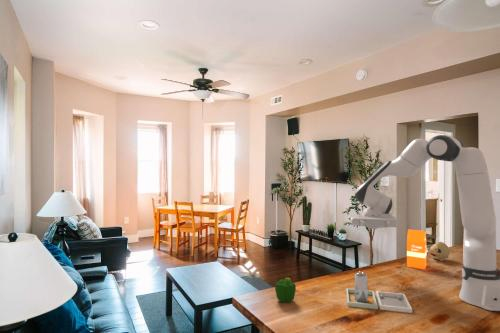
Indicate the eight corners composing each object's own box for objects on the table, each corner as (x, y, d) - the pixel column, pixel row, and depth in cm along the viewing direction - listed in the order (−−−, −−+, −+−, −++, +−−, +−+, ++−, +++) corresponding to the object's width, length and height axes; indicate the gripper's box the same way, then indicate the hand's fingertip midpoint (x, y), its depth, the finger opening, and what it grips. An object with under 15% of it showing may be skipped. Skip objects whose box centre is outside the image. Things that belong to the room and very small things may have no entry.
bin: (373, 297, 132) (373, 290, 132) (377, 313, 119) (377, 305, 119) (346, 295, 135) (346, 288, 135) (347, 309, 122) (347, 302, 122)
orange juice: (409, 262, 178) (408, 228, 178) (426, 265, 173) (426, 229, 173) (406, 266, 172) (406, 230, 172) (424, 269, 167) (424, 232, 167)
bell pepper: (271, 298, 132) (271, 275, 132) (288, 295, 136) (288, 272, 136) (281, 306, 125) (281, 281, 125) (299, 302, 128) (298, 278, 128)
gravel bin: (404, 300, 129) (404, 293, 129) (412, 316, 115) (412, 308, 115) (376, 298, 132) (375, 291, 132) (380, 313, 118) (380, 305, 118)
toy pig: (424, 259, 185) (423, 241, 185) (436, 256, 190) (436, 239, 190) (440, 263, 176) (440, 245, 176) (453, 260, 181) (453, 242, 181)
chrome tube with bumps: (366, 300, 129) (367, 271, 128) (368, 305, 124) (368, 275, 124) (354, 298, 130) (354, 270, 130) (355, 303, 125) (355, 274, 125)
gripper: (350, 212, 154) (351, 216, 141) (394, 213, 149) (400, 218, 136) (350, 224, 154) (351, 230, 141) (394, 226, 149) (400, 232, 136)
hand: (375, 224), depth 138 cm, fingers open, 8 cm apart
